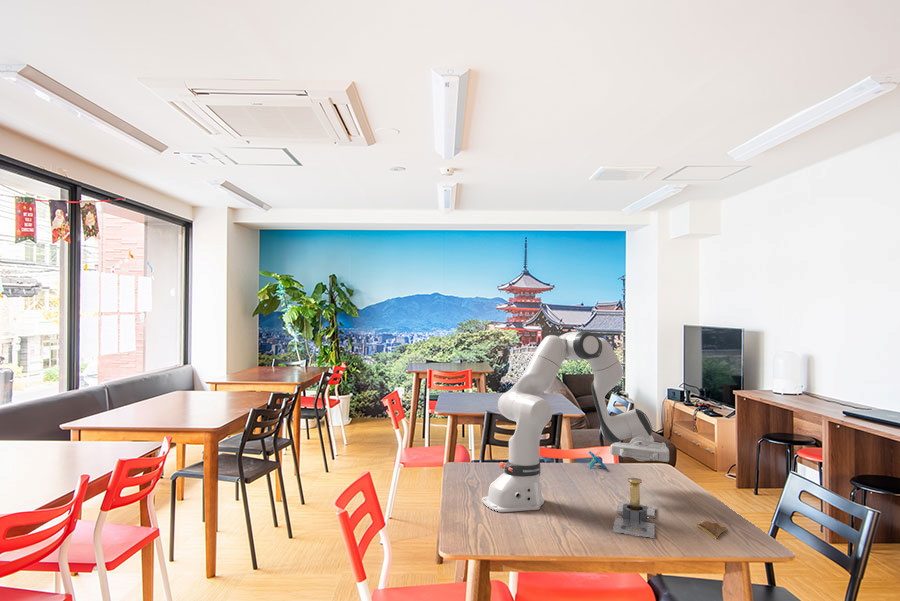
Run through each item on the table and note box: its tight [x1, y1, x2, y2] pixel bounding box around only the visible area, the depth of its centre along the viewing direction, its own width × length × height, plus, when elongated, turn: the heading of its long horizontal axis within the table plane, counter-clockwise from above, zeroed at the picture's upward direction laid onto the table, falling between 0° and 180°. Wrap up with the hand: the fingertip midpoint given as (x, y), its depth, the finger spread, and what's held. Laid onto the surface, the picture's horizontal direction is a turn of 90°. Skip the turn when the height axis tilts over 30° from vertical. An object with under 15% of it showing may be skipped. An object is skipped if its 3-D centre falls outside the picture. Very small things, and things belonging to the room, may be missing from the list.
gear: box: [588, 450, 607, 469], centre depth 228 cm, size 11×6×10 cm
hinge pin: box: [627, 477, 643, 511], centre depth 167 cm, size 4×4×13 cm
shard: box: [696, 520, 727, 540], centre depth 158 cm, size 11×8×2 cm
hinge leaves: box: [612, 501, 656, 539], centre depth 167 cm, size 27×12×4 cm, turn 158°
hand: (637, 456), depth 178 cm, fingers open, 8 cm apart
